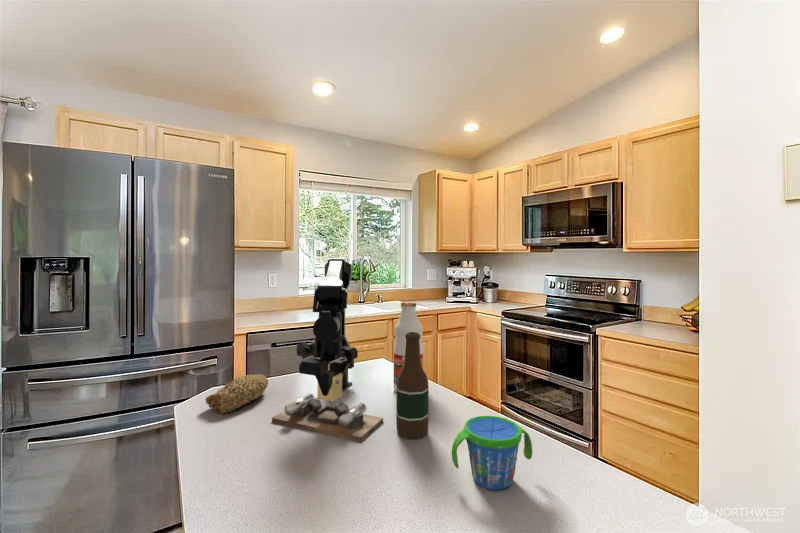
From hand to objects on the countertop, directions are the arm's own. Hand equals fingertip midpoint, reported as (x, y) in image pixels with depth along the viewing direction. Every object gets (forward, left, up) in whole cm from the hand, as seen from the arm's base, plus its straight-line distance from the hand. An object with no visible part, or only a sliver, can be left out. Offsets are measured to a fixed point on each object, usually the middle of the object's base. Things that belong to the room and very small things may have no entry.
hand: (330, 392), depth 97 cm
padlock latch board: (+1, 0, -7) cm, 7 cm away
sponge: (0, -31, -8) cm, 32 cm away
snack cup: (+10, +43, -7) cm, 45 cm away
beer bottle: (-2, +22, -7) cm, 23 cm away
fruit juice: (-29, +10, -7) cm, 31 cm away
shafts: (+2, 0, -5) cm, 6 cm away
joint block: (0, 0, -1) cm, 1 cm away
